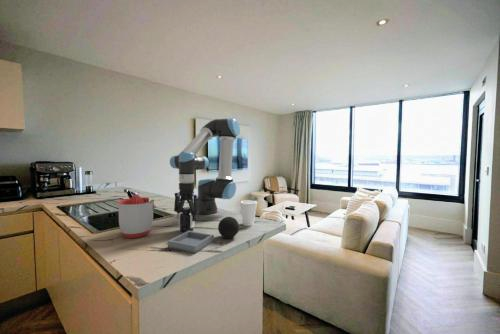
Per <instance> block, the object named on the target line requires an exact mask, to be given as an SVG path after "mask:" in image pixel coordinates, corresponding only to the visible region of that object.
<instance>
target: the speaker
mask: <svg viewBox="0 0 500 334" xmlns="http://www.w3.org/2000/svg"><path fill="white" fill-rule="evenodd" d="M217 227H218V229H217V230H218V232H219V234H220V236H221V237H222V238H225V239H231V238H234V237H235V236H236V235H237V234H238V233H239V231H240V226H239V221H238V220H237V219H236V218H234V217H232V216H225V217H223V218H222V219H220V221H219V223H218V226H217Z"/></svg>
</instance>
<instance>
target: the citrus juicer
mask: <svg viewBox="0 0 500 334" xmlns="http://www.w3.org/2000/svg"><path fill="white" fill-rule="evenodd" d="M117 203H118V225H119V229H120V232H121V235H122V236H123V237H124V238H128V239H134V238H140V237H144V236H147V235H149V234H150V232H151V230H152V225H153V220H154V209H157V207H158V206H156V205H154V203H155V201H154V199H150V198H149V197H144V196H143V197H141V196H140V195H139V194H137V193H136V194H134V195H133V196H132V197H128V198H124V199H120V200H118V201H117Z"/></svg>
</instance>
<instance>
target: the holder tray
mask: <svg viewBox="0 0 500 334" xmlns="http://www.w3.org/2000/svg"><path fill="white" fill-rule="evenodd" d="M214 235H215V234H211V233H205V232H201V231H200V232H199V231H194V230H193V231H187V232H185V233H181V234H179V235H177V236H175V237H173V238H171V239H169V240H168V241H167V248H168V249H172V250H176V251H181V252H186V253H191V254H194V255H195V254H197V253H199V252H201V251H202V250H203V249H204V248H206V247H208V246H210V245H211V244H212V243H213V242H214V241H215V236H214Z"/></svg>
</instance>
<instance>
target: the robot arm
mask: <svg viewBox="0 0 500 334" xmlns="http://www.w3.org/2000/svg"><path fill="white" fill-rule="evenodd" d="M240 128H241V127H240V124H239V122H238V120H237V119H235V118H216V119H212V120H210V121H208V122H207V123H206V124H204V125H203V126H202V128H201V129H200V130H199V133H198V134H197V135H196V136H195V137H194V138H193V139H192V140H191V141H190V142H189V143H188V144H187V145H186V147H185V148H184V149H183V150H182V151H180V152H179V154H177V155H173V156H171V157H170V159H169V166H171V168H172V169H177V170H178V182H179V183H178V190H179V192H174V208H173V211H174V212H176V213H177V214H176V215H177V220H178V224H177V225H178V227H180V214H181V213H182V208H184V205H185V202H187V204H188V207H190V210H191V214H192V215H190V228H193V229H194V228H195V227H196V224H195V222H196V220H197V215H213V214H214V215H215V214H217V213H218V207H217V202H216V199H221V200H231V199H232V198H233V197H234V196H235V194H236V192H237V191H236V190H237V185H236V182H235V181H234V178H233V177H232V169H233V168H232V167H233V157H234V156H233V154H234V153H233V152H234V141H236V139H237V137H238V136H239V135H240V131H241V129H240ZM214 137H218V139H219V140H220V149H219V160H218V176H216V177H215V178H213V177H212V178H205V179H204V178H203V179H199V180H198V182H197V193H195V191H194V190H195V171H198V170H206V169H208V167H209V166H210V165H209V164H210V161H209V158H208V157H207V156H204V155H197V154H198V153H199V152H200V151H201V150H202V148H204V146H205V145H206V144H207V143H208V141H210V140H212V139H213V138H214Z"/></svg>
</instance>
